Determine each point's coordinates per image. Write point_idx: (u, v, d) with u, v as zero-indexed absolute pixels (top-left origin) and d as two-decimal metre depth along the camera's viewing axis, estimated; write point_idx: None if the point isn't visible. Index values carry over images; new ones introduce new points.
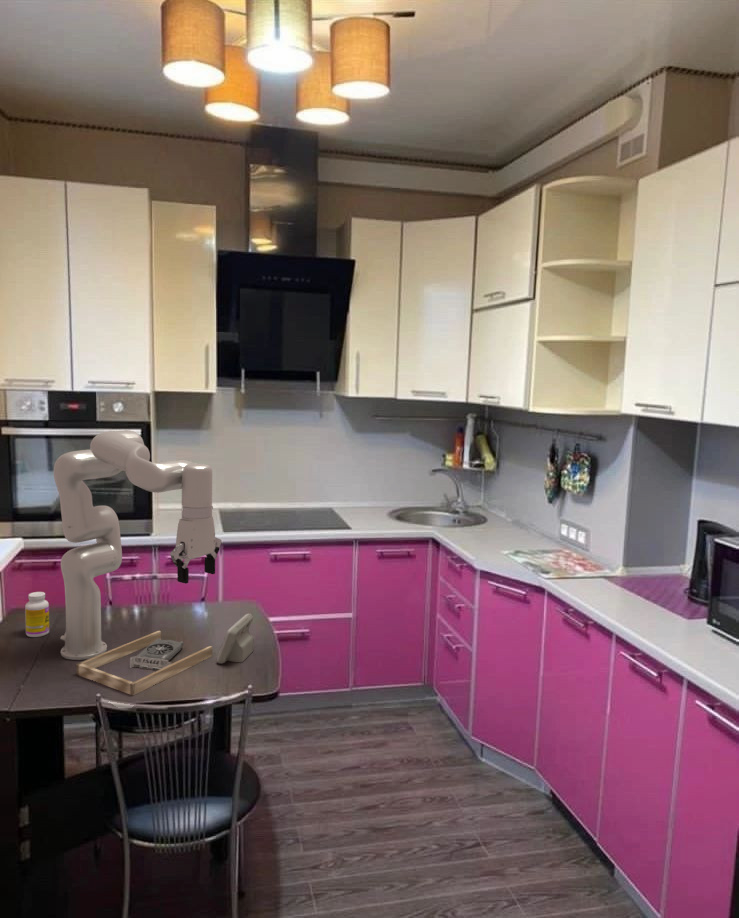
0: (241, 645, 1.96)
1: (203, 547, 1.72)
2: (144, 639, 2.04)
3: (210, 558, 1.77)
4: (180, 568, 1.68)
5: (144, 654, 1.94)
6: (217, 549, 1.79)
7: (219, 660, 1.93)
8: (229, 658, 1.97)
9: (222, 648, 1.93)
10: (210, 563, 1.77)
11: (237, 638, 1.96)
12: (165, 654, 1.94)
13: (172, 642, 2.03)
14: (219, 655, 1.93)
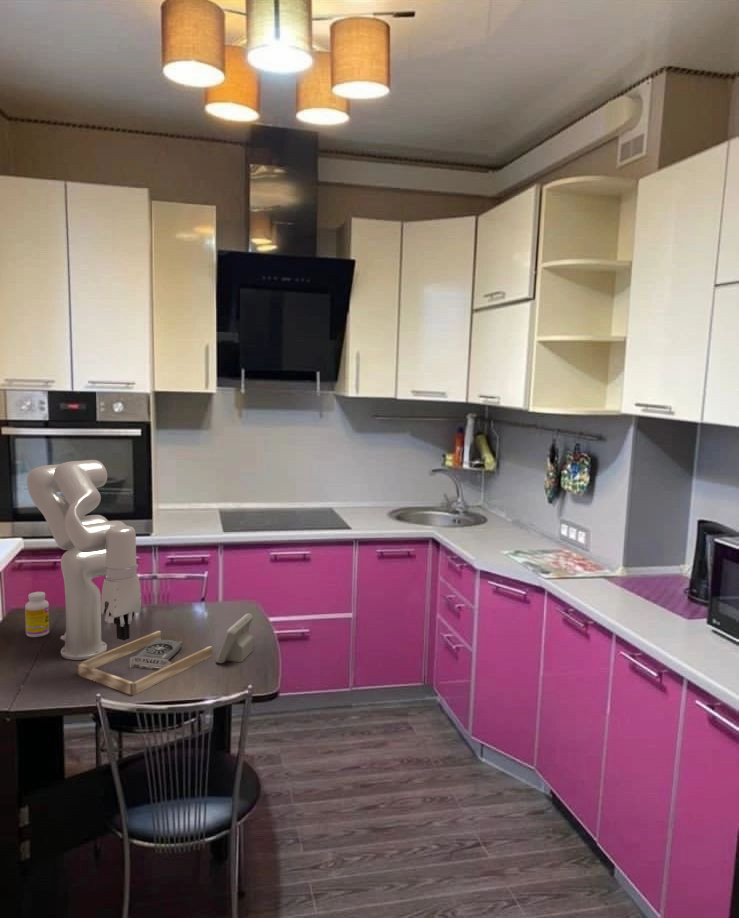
0: (241, 645, 1.96)
1: (128, 605, 1.80)
2: (144, 639, 2.04)
3: (124, 623, 1.82)
4: (118, 626, 1.81)
5: (144, 654, 1.94)
6: (132, 614, 1.83)
7: (219, 660, 1.94)
8: (229, 658, 1.97)
9: (222, 648, 1.93)
10: None
11: (237, 638, 1.96)
12: (165, 654, 1.94)
13: (171, 642, 2.04)
14: (219, 655, 1.93)
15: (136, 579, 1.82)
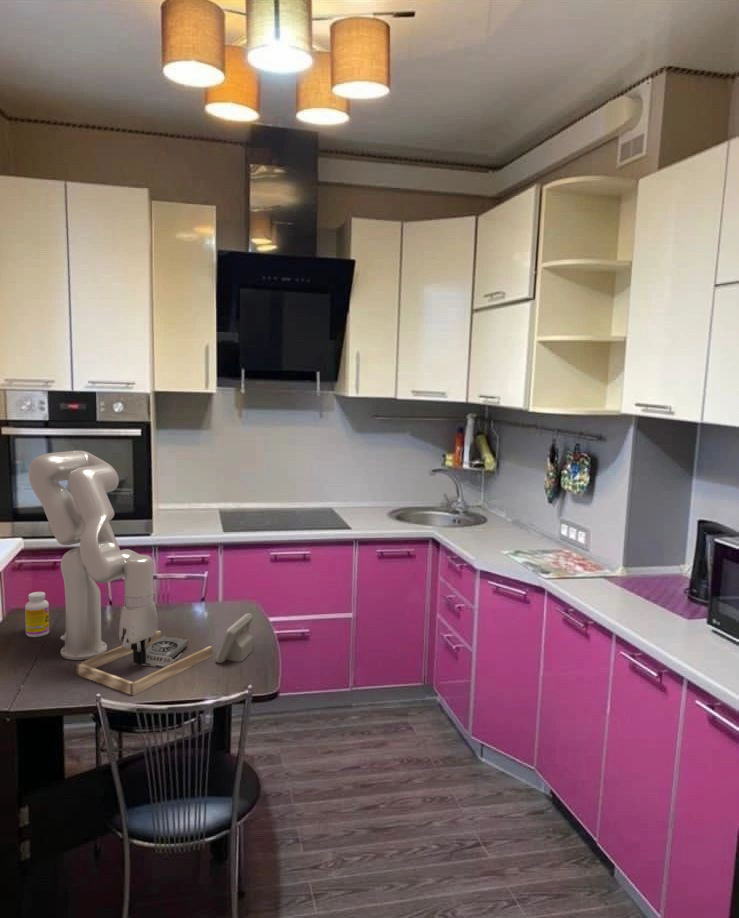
0: (240, 645, 1.96)
1: (145, 632, 1.87)
2: None
3: (141, 649, 1.89)
4: (135, 651, 1.87)
5: (148, 651, 1.95)
6: None
7: (218, 659, 1.94)
8: (228, 657, 1.97)
9: (221, 647, 1.93)
10: None
11: (236, 638, 1.97)
12: (169, 651, 1.96)
13: (177, 640, 2.05)
14: (218, 654, 1.94)
15: (153, 606, 1.89)
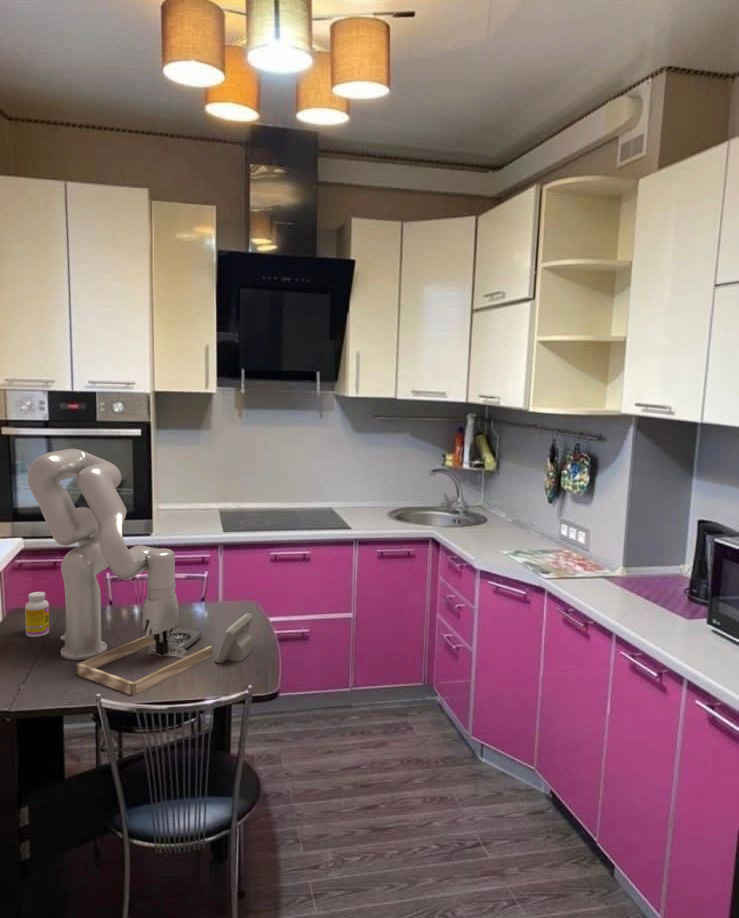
0: (240, 644, 1.97)
1: (167, 623, 1.94)
2: (144, 639, 2.04)
3: (163, 639, 1.96)
4: (158, 642, 1.94)
5: None
6: (170, 630, 1.97)
7: (218, 659, 1.94)
8: (228, 657, 1.97)
9: (221, 647, 1.93)
10: None
11: (236, 637, 1.97)
12: (182, 643, 2.02)
13: (191, 632, 2.12)
14: (218, 654, 1.94)
15: (174, 598, 1.96)
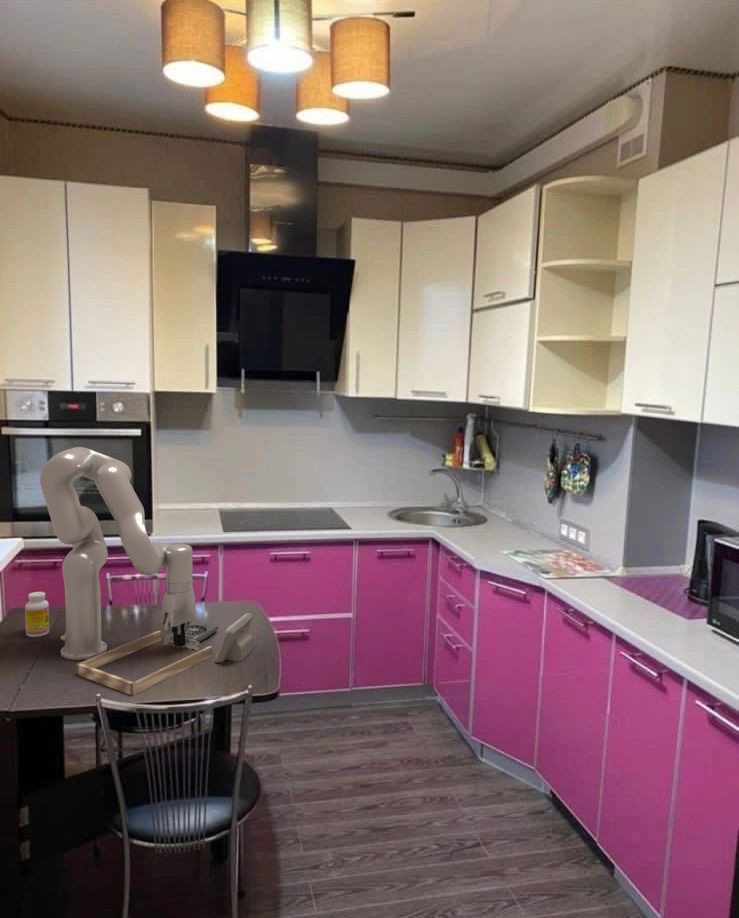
0: (240, 644, 1.97)
1: (185, 616, 2.00)
2: (144, 639, 2.04)
3: (180, 632, 2.02)
4: (175, 634, 2.01)
5: None
6: None
7: (217, 659, 1.94)
8: (228, 657, 1.97)
9: (220, 647, 1.94)
10: None
11: (236, 637, 1.97)
12: (197, 635, 2.09)
13: (208, 625, 2.18)
14: (218, 654, 1.94)
15: (192, 592, 2.02)
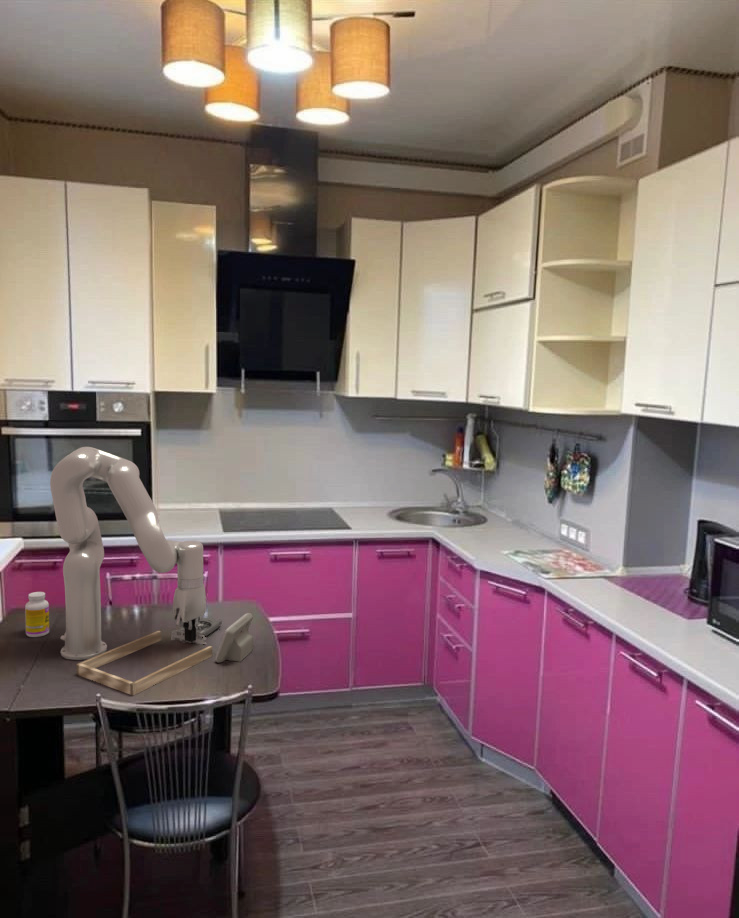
0: (239, 644, 1.97)
1: (196, 611, 2.04)
2: (144, 639, 2.04)
3: (191, 627, 2.06)
4: (187, 629, 2.05)
5: (184, 629, 2.13)
6: (198, 619, 2.07)
7: (217, 659, 1.94)
8: (228, 657, 1.97)
9: (220, 647, 1.94)
10: None
11: (236, 637, 1.97)
12: (203, 630, 2.13)
13: (212, 620, 2.22)
14: (218, 654, 1.94)
15: (202, 588, 2.06)
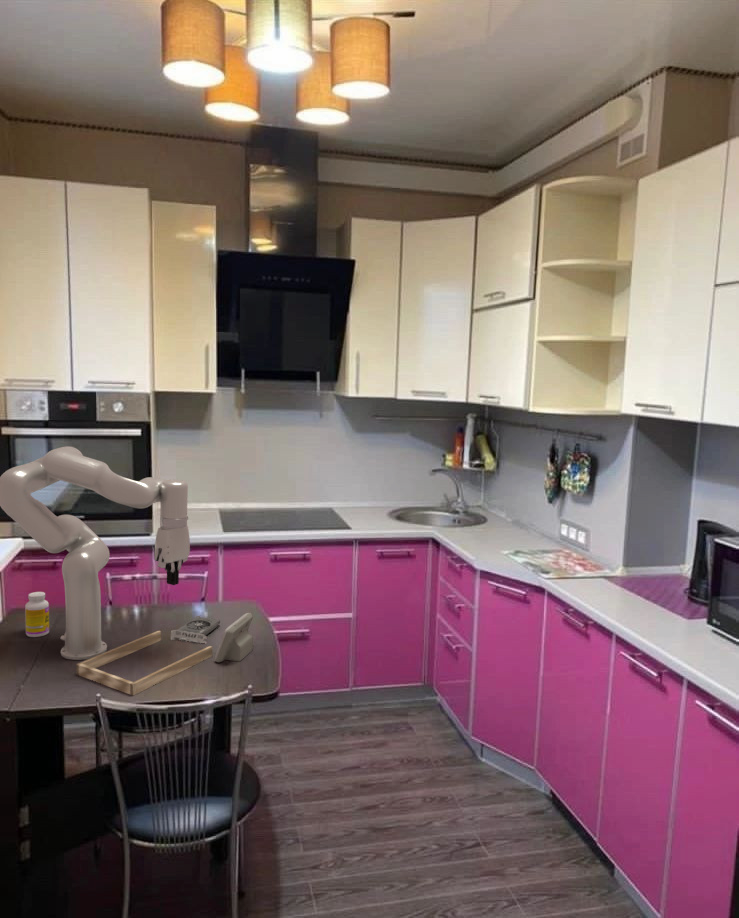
0: (239, 644, 1.97)
1: (179, 553, 1.96)
2: (144, 639, 2.04)
3: None
4: (169, 572, 1.96)
5: (184, 628, 2.14)
6: (181, 562, 1.99)
7: (217, 659, 1.94)
8: (227, 657, 1.97)
9: (220, 647, 1.94)
10: None
11: (235, 637, 1.97)
12: (202, 629, 2.13)
13: (210, 619, 2.23)
14: (217, 653, 1.94)
15: (186, 529, 1.98)
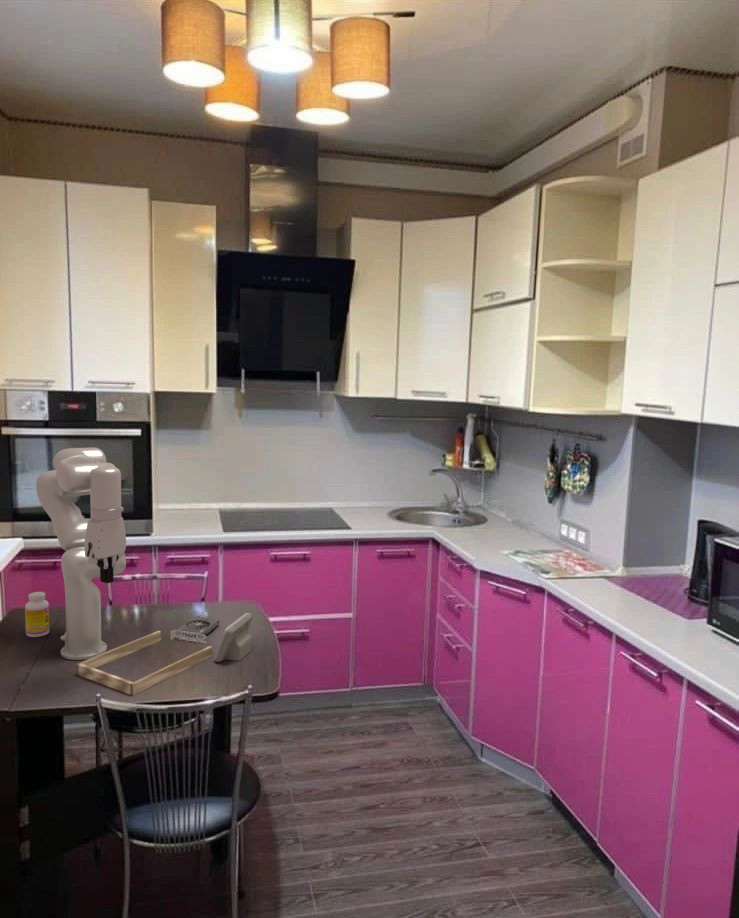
0: (239, 644, 1.97)
1: (112, 548, 1.77)
2: (144, 639, 2.04)
3: (108, 566, 1.79)
4: (102, 569, 1.77)
5: (183, 628, 2.14)
6: (116, 557, 1.80)
7: (216, 658, 1.95)
8: (227, 657, 1.98)
9: (219, 646, 1.94)
10: None
11: (235, 637, 1.97)
12: (202, 629, 2.14)
13: (209, 619, 2.23)
14: (217, 653, 1.94)
15: (121, 522, 1.79)
